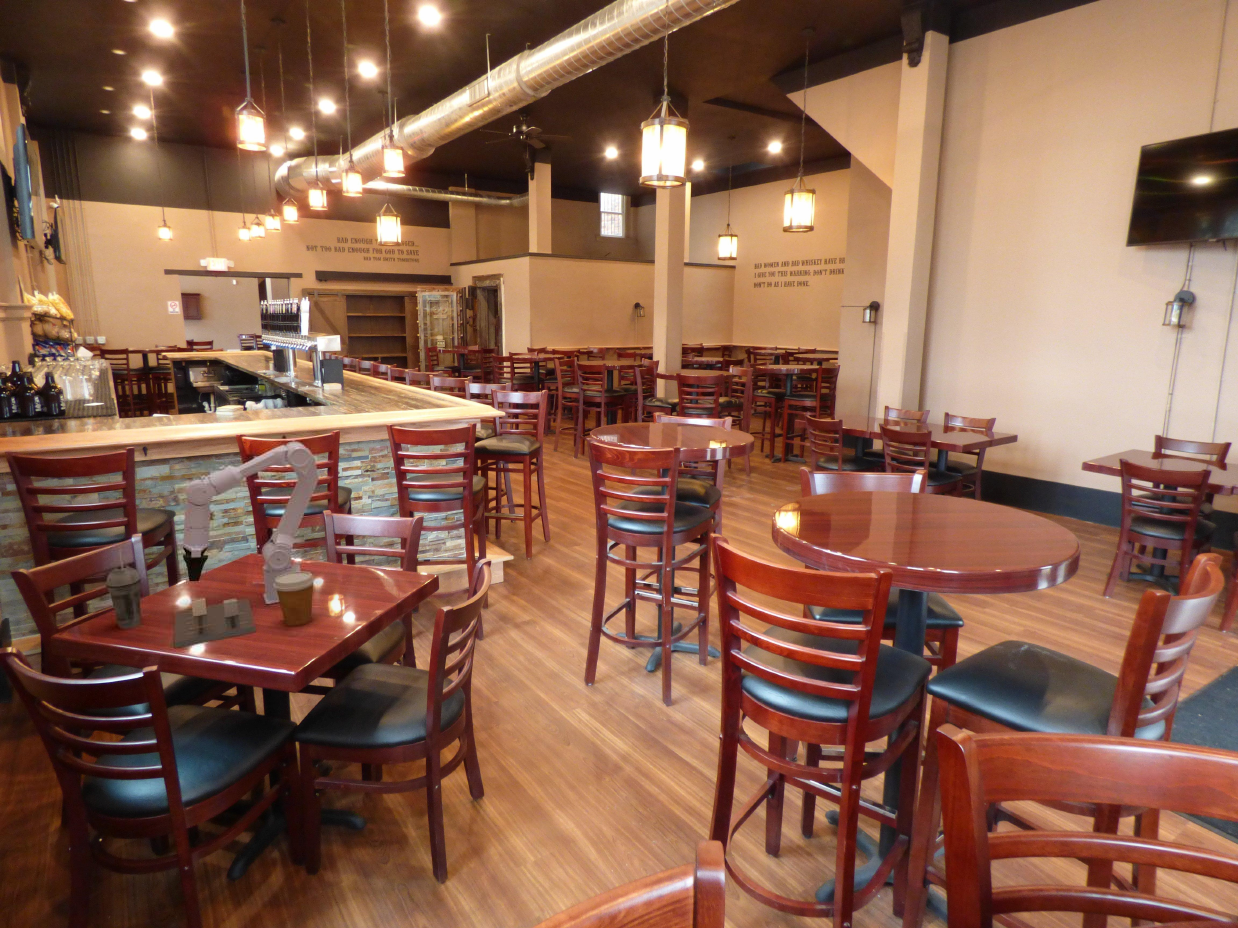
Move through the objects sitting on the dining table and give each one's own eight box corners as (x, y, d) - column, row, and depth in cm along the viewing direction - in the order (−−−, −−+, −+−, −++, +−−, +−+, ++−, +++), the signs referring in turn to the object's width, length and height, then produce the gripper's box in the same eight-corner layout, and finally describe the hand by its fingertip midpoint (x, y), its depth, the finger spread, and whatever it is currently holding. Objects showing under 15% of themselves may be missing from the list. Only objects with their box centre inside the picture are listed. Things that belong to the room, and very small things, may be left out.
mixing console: (248, 603, 192) (248, 598, 192) (255, 631, 175) (254, 625, 174) (176, 617, 184) (175, 611, 183) (175, 648, 166) (174, 641, 166)
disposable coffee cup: (326, 616, 184) (322, 572, 182) (298, 631, 175) (294, 585, 173) (297, 611, 187) (293, 568, 185) (269, 625, 178) (264, 581, 176)
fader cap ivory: (206, 611, 183) (204, 597, 182) (206, 614, 182) (204, 599, 181) (193, 614, 182) (191, 599, 181) (193, 616, 180) (191, 601, 179)
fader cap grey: (238, 612, 182) (236, 597, 182) (238, 614, 181) (236, 599, 180) (225, 615, 181) (223, 600, 180) (225, 617, 180) (223, 602, 179)
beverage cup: (110, 633, 174) (98, 556, 170) (115, 622, 181) (103, 548, 177) (145, 627, 178) (134, 552, 174) (148, 617, 184) (138, 544, 180)
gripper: (179, 519, 187) (176, 569, 188) (178, 533, 175) (175, 585, 176) (209, 519, 191) (206, 568, 192) (211, 532, 178) (208, 584, 180)
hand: (194, 576), depth 184 cm, fingers open, 7 cm apart
